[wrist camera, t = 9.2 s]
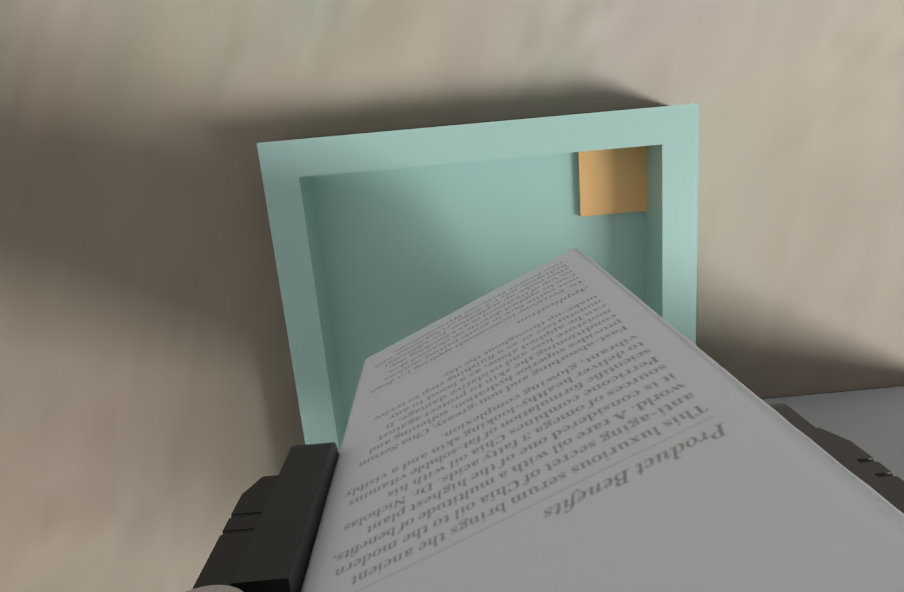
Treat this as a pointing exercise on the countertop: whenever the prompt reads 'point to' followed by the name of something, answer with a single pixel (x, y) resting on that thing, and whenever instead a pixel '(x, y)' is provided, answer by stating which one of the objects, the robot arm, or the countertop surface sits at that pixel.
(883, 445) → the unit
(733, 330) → the countertop surface
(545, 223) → the tray
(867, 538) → the skincare box
